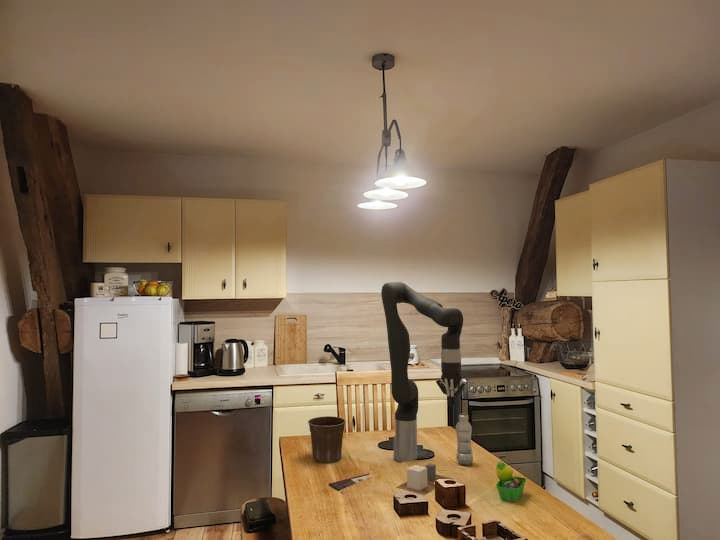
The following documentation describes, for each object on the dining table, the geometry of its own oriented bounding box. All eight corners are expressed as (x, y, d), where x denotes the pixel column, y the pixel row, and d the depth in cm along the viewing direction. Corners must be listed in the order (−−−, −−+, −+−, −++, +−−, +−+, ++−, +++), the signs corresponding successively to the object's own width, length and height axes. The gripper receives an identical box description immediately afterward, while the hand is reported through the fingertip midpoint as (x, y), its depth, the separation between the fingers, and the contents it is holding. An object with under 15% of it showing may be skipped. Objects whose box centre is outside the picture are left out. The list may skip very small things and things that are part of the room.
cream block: (407, 487, 182) (406, 468, 182) (415, 483, 186) (414, 464, 186) (419, 490, 179) (419, 471, 179) (427, 486, 183) (427, 467, 183)
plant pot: (351, 461, 214) (351, 423, 215) (314, 467, 208) (314, 427, 209) (338, 451, 230) (338, 414, 230) (304, 455, 224) (303, 418, 224)
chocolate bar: (328, 483, 189) (368, 473, 199) (328, 486, 189) (368, 476, 199) (341, 491, 181) (382, 480, 191) (341, 494, 181) (382, 483, 191)
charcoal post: (426, 479, 189) (425, 465, 190) (429, 477, 191) (429, 463, 192) (432, 481, 188) (431, 466, 188) (435, 479, 190) (435, 464, 190)
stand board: (424, 498, 175) (424, 495, 175) (395, 490, 182) (395, 487, 183) (453, 481, 190) (453, 478, 190) (426, 474, 198) (425, 471, 198)
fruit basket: (518, 504, 169) (517, 470, 169) (492, 499, 174) (491, 465, 174) (527, 493, 179) (526, 460, 179) (501, 488, 183) (501, 456, 184)
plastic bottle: (473, 467, 206) (472, 416, 206) (456, 466, 207) (455, 416, 208) (473, 462, 212) (471, 413, 213) (456, 461, 213) (455, 412, 214)
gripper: (431, 360, 198) (432, 405, 197) (461, 362, 189) (462, 410, 189) (441, 358, 204) (442, 402, 203) (471, 360, 195) (472, 406, 194)
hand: (452, 406), depth 196 cm, fingers closed
